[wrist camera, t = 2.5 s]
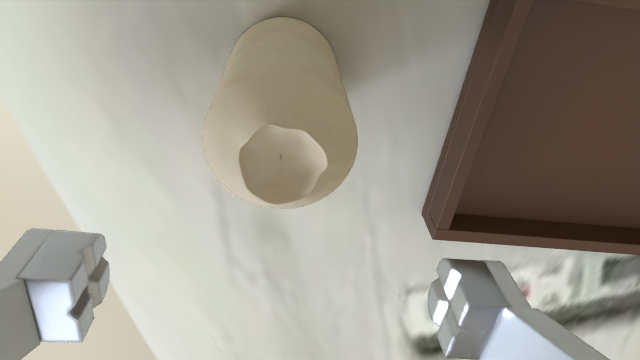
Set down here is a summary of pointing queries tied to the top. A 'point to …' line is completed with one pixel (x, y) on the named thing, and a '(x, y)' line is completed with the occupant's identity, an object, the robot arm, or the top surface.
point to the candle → (280, 118)
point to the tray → (546, 131)
